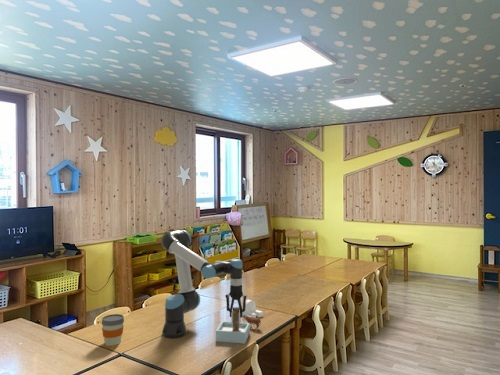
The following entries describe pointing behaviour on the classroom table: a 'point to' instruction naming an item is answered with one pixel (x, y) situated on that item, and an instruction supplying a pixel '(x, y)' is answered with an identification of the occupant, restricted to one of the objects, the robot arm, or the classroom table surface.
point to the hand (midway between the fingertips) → (236, 322)
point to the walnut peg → (236, 319)
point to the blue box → (232, 333)
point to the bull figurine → (253, 320)
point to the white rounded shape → (251, 309)
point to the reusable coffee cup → (112, 329)
